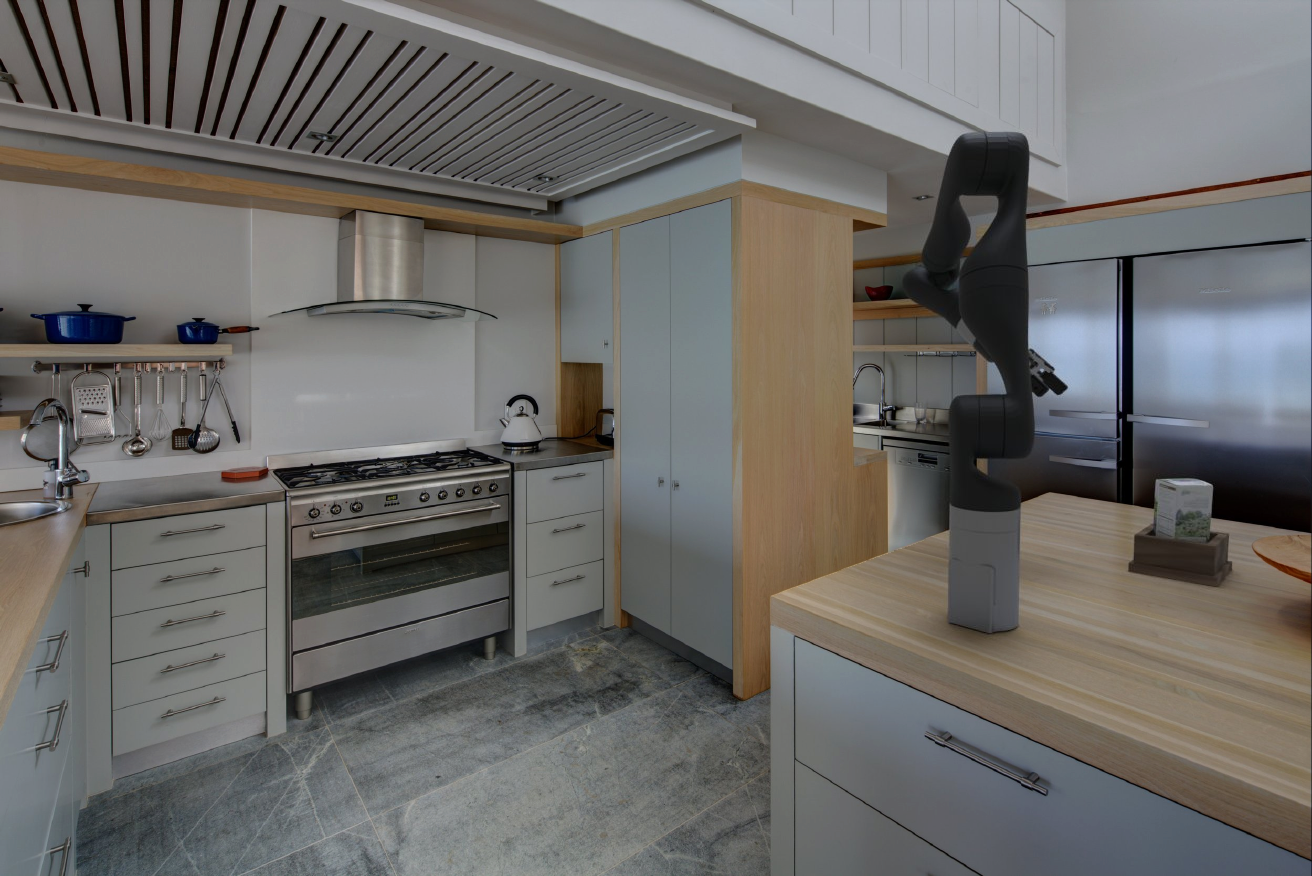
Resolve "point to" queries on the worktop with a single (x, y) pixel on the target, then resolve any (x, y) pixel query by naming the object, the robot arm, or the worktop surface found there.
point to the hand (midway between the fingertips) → (1054, 392)
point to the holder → (1182, 557)
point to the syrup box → (1183, 509)
